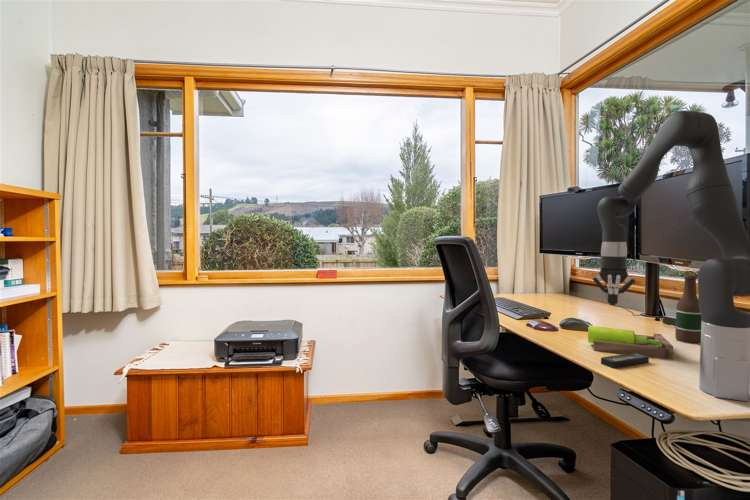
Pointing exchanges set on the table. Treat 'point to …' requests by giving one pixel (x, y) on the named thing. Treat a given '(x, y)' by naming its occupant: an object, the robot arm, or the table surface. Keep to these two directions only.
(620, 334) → the soap dispenser
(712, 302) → the robot arm
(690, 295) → the beer bottle
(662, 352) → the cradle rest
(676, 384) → the table surface
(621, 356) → the multiport hub
